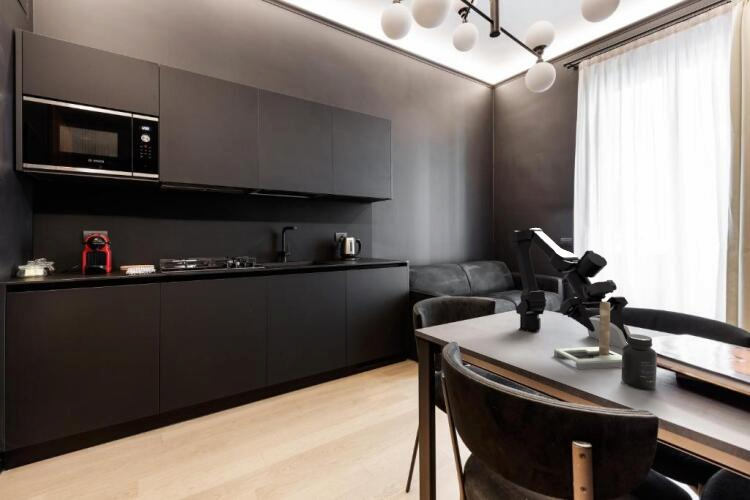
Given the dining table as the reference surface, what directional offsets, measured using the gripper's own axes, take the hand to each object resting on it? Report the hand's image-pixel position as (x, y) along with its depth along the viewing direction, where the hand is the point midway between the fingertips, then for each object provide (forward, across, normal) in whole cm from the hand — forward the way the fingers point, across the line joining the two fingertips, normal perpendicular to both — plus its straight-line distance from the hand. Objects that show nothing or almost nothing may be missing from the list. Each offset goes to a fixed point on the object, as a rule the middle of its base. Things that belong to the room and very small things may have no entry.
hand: (608, 330), depth 100 cm
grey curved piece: (-5, +14, +18) cm, 24 cm away
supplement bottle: (+17, -5, -4) cm, 18 cm away
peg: (+6, 0, +8) cm, 9 cm away
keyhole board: (+6, -4, +7) cm, 10 cm away
